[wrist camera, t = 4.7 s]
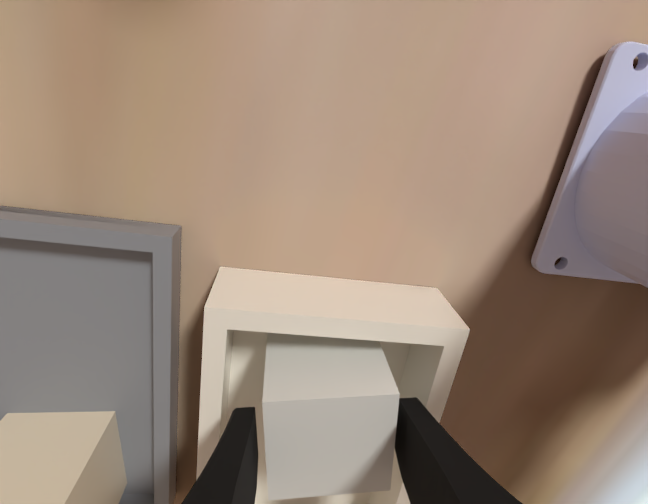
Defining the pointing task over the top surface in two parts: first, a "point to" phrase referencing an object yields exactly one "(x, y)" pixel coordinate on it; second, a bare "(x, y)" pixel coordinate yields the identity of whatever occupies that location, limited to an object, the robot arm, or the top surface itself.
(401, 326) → the cream dish
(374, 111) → the top surface
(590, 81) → the top surface
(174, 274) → the slate tray
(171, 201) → the top surface
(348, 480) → the light gray cube
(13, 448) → the beige cube
